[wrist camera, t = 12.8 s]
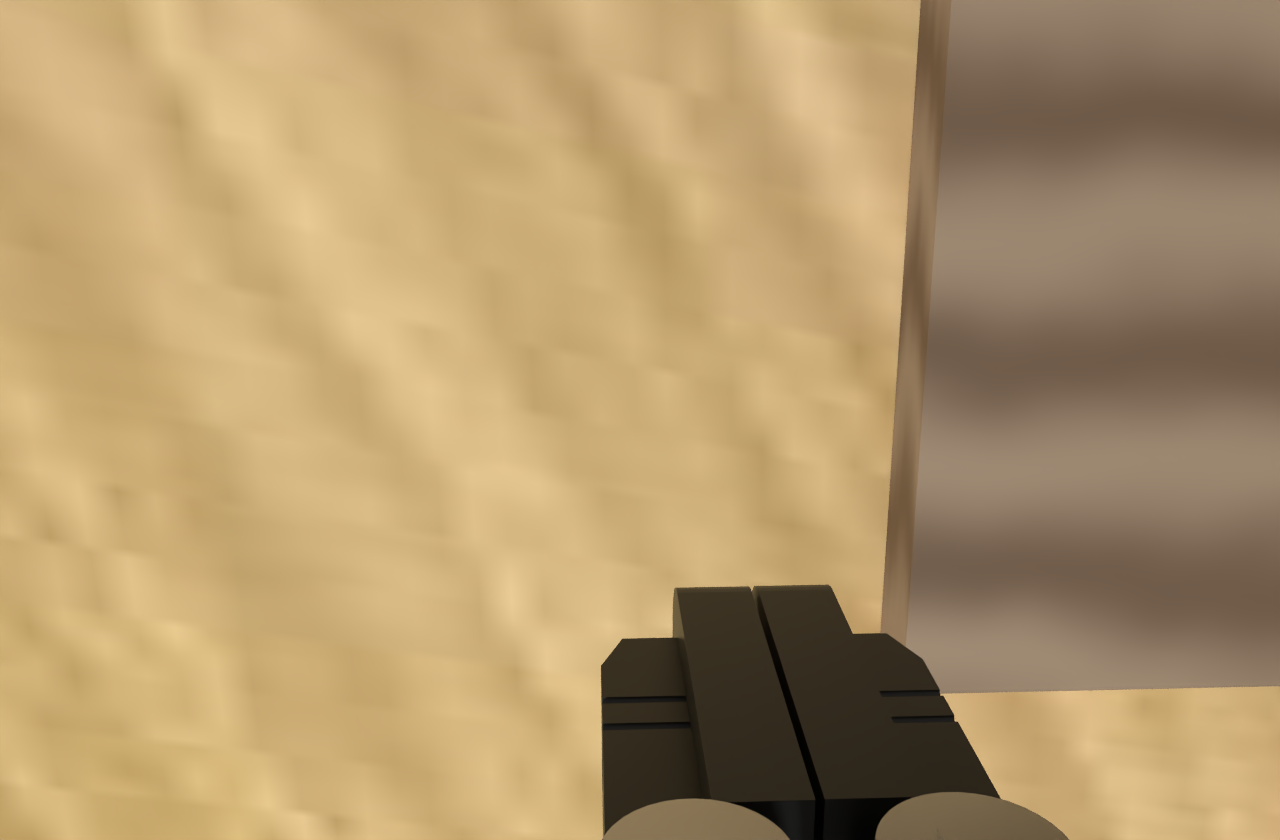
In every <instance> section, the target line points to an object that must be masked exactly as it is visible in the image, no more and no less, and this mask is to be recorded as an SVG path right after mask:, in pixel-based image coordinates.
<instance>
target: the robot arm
mask: <svg viewBox="0 0 1280 840" xmlns="http://www.w3.org/2000/svg"><path fill="white" fill-rule="evenodd" d="M601 703H602V792H603V839H602V840H1069V839H1068V838H1067V837H1066V836H1065V834H1064V833H1063V832H1062V831H1060V830H1059V829H1058V828H1057V827H1056V826H1054V825H1053V824H1052V823H1051V822H1049V821H1048V820H1046V819H1044V818H1043V817H1041V816H1040V815H1038V814H1036V813H1034V812H1032V811H1030V810H1028V809H1026V808H1024V807H1022V806H1019V805H1017V804H1014V803H1012V802H1009V801H1006V800H1002V799H1001V798H1000V797H999V795H998V793H997V791H996V789H995V788H994V786H993V784H992V782H991V780H990V779H989V777H988V775H987V773H986V771H985V770H984V768H983V766H982V764H981V762H980V761H979V759H978V757H977V755H976V754H975V752H974V750H973V748H972V746H971V745H970V743H969V741H968V739H967V737H966V736H965V734H964V732H963V730H962V728H961V727H960V725H959V723H958V722H955V721H954V714H953V712H952V710H951V709H950V707H949V705H948V703H947V702H946V700H945V698H944V696H940V689H939V687H938V685H937V684H936V682H935V680H934V678H933V676H932V675H931V673H930V671H929V669H928V667H927V666H926V664H925V662H924V660H923V659H922V658H921V657H919V656H918V655H916V654H915V653H914V652H912V651H911V650H909V649H908V648H907V647H905V646H904V645H902V644H901V643H900V642H898V641H897V640H895V639H894V638H893V637H891V636H890V635H888V634H887V633H874V634H853V633H852V631H851V629H850V627H849V625H848V623H847V620H846V618H845V616H844V614H843V612H842V610H841V607H840V605H839V603H838V601H837V599H836V597H835V594H834V592H833V590H832V588H831V586H829V585H791V586H754V588H753V590H752V591H751V589H750V587H694V588H675V589H674V598H673V638H637V639H622V640H621V641H620V643H619V644H618V645H617V646H616V648H615V649H614V650H613V652H612V653H611V654H610V655H609V657H608V658H607V659H606V660H605V662H604V663H603V664H602V665H601Z"/></svg>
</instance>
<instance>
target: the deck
mask: <svg viewBox="0 0 1280 840" xmlns="http://www.w3.org/2000/svg"><path fill="white" fill-rule="evenodd" d="M881 633H887V634H888V635H890V636H891V637H893V638H894V639H895V640H897V641H898V642H900V643H901V644H902V645H904V646H905V647H907V648H908V649H909V650H911V651H912V652H914V653H915V654H916V655H918V656H919V657H921V658H922V659H923V660H924V662H925V664H926V666H927V667H928V669H929V671H930V673H931V675H932V676H933V678H934V680H935V682H936V684H937V685H938V687H939V689H940V694H943V693H988V692H1033V691H1078V690H1124V689H1169V688H1214V687H1259V686H1280V0H921V8H920V24H919V40H918V55H917V71H916V87H915V102H914V118H913V134H912V149H911V165H910V181H909V197H908V212H907V228H906V244H905V259H904V275H903V291H902V306H901V322H900V338H899V353H898V369H897V385H896V400H895V416H894V432H893V448H892V463H891V479H890V495H889V510H888V526H887V542H886V557H885V573H884V589H883V604H882V620H881Z"/></svg>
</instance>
